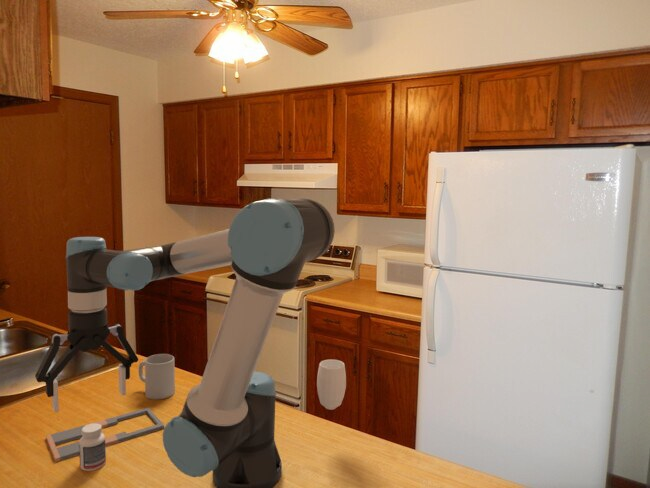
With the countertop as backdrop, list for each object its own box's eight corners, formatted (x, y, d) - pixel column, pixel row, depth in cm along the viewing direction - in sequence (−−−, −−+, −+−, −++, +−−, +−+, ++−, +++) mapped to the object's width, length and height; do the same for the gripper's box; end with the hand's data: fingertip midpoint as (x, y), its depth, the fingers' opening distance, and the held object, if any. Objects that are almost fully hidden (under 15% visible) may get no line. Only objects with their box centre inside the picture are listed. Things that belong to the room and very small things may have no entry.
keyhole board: (164, 428, 121) (164, 425, 121) (55, 461, 105) (55, 458, 105) (148, 410, 130) (148, 407, 130) (46, 438, 114) (46, 435, 114)
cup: (349, 444, 116) (352, 365, 114) (328, 454, 112) (331, 372, 109) (330, 432, 122) (333, 356, 119) (309, 441, 117) (311, 362, 114)
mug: (180, 390, 143) (180, 356, 142) (162, 401, 135) (162, 366, 134) (149, 383, 147) (148, 350, 146) (129, 394, 139) (128, 359, 138)
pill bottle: (110, 462, 106) (109, 426, 104) (88, 474, 101) (87, 436, 100) (97, 455, 108) (96, 419, 107) (75, 466, 104) (73, 429, 103)
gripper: (141, 297, 111) (142, 381, 114) (17, 312, 95) (21, 409, 98) (151, 304, 105) (152, 392, 108) (21, 321, 89) (26, 424, 92)
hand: (90, 401), depth 103 cm, fingers open, 13 cm apart
